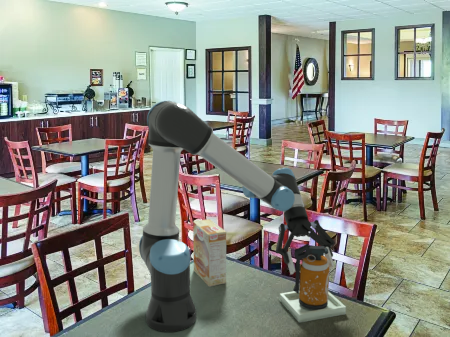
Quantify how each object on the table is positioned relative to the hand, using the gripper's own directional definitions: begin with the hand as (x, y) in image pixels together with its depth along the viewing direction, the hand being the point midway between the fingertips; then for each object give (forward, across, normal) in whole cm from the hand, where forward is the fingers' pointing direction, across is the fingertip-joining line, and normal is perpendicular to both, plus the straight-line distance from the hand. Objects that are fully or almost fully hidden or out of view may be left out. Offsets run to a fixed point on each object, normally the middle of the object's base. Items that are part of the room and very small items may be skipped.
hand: (312, 270), depth 145 cm
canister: (+9, +1, -8) cm, 12 cm away
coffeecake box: (-12, +26, -30) cm, 41 cm away
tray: (+9, 0, -8) cm, 12 cm away
